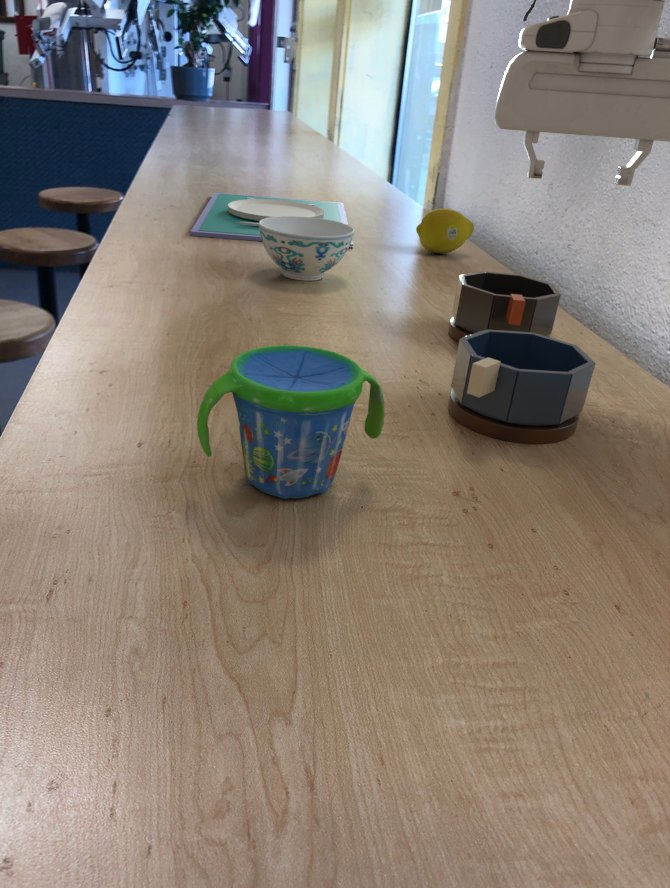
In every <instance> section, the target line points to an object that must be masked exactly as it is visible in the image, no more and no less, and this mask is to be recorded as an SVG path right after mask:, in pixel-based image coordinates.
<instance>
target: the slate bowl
mask: <svg viewBox="0 0 670 888" xmlns="http://www.w3.org/2000/svg"><path fill="white" fill-rule="evenodd" d="M595 366H596V362H595V361H594V360H593V359H592V358H591V357H590V356H589V355H588V354H587V353H586V352H585V351H584V350H583V349H582V348H581V347H580V346H579V345H577V344H573V343H570V342H567V341H563V340H560V339H557V338H552V337H551V336H550V337H547V336H543V335H540V334H537V333H532V332H519V331H503V330H483V331H480V332H477V333H474V334H471V335H468V336H465V337H462V338H460V340H459V342H458V347H457V352H456V356H455V363H454V368H453V374H452V377H451V378H452V379H451V384H450V386H451V389H453V390H454V392H455V394H456V396H457V398H458V399H459V401H460V403H461V404H462V405H463V406H466V407H468V408H469V409H471V410H473V411H475V412H477V413H479V414H481V415H483V416H486V417H489V418H492V419H495V420H499V421H503V422H507V423H513V424H519V425H529V426H547V425H558V424H561V423H563V422H565V421H567V420H568V419H570V418H572V417H574V416H575V415H577V414H579V415H580V414H581V413H582V412H583V409H584V407H585V403H586V399H587V395H588V391H589V388H590V385H591V381H592V377H593V374H594V370H595Z"/></svg>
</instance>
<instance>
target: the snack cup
mask: <svg viewBox="0 0 670 888" xmlns="http://www.w3.org/2000/svg"><path fill="white" fill-rule="evenodd" d="M365 382H367V383H368V384H369V396H368V405H367V414H366V417H365V420H364V432H365V434H366V435H367V436H368V437H369V438H371V439H372V440H373V439H374V440H375V439H378V438H379V437H380V435H381V433H382V431H383V428H384V422H385V421H384V420H385V399H384V393H383V388H382V387H381V385H380V383H379V382H378V380H377V379H375V377H373V375H372V374H370V373H369V372H368V371H366V370H365V369H364V368H362V367H361V366H360V364H358V363H357V362H356V361H354V360H353V359H352V358H349V357H348V356H346V355H343V354H340V353H338V352H335V351H332V350H328V349H324V348H319V347H314V346H306V345H292V344H291V345H289V344H282V345H280V344H279V345H267V346H262V347H261V346H260V347H256V348H253V349H249V350H246V351H244V352H241V353H240V354H238V355H237V356H235V358H233V359H232V360H231V363H230V366H229V369H228V371H227V372H225V373H224V374H222V375H221V376H219V377H218V378H217V379H216V380H214V381H213V382H212V384H211V385H210V386H209V388H208V389H207V391H206V392H205V394H204V396H203V398H202V400H201V403H200V406H199V410H198V413H197V421H196V431H197V437H198V440H199V444H200V447H201V449H202V451H203V452H204V454H205V455H206V457H208V458H209V457H212V448H211V445H210V430H209V425H208V421H209V416H210V413H211V411H212V409H213V408H214V406H216V404H217V403H218V402H219V401H220V400H221V399H222V398H223V396H225V395H226V394H229V393H231V394H232V398H233V401H234V404H235V407H236V412H237V413H236V414H237V419H238V424H239V427H238V428H239V429H238V430H239V436H240V437H239V438H240V446H241V454H242V461H243V469H244V473H245V477H246V480H247V483H248V484H249V485H251V486H254V487H255V488H256V489H257V490H259V491H260V492H262V493H265V494H267V495H270V496H273V497H277V498H279V499H283V500H288V499H302V498H308V497H311V496H314V495H317V494H324V493H326V492H327V491H328V489H329V488H330V487H331V485H332V483H333V481H334V480H335V478H336V474H337V471H338V467H339V465H340V460H341V456H342V453H343V448H344V444H345V440H346V438H347V433H348V429H349V428H350V427H349V426H350V424H351V418H352V413H353V410H354V407H355V404H356V401H357V400H358V398H359V397H360V396H361V394H362V390H363V387H364V383H365Z"/></svg>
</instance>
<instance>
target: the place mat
mask: <svg viewBox="0 0 670 888" xmlns="http://www.w3.org/2000/svg"><path fill="white" fill-rule="evenodd" d="M279 216H299V217H312V218H320V219H327V220H332V221H337V222H340V223H344V224H347V225H349V222H348V217H347V213H346V209H345V205H344V202H337V201H336V202H335V201H324V200H323V201H322V200H311V199H298V198H297V199H296V198H285V197H275V196H261V195H248V194H236V193H235V194H234V193H226V192H225V193H222V192H214V193H213V194H212V196H211V197H210V199H209V200H208V203H206V206H205V207H204V209H203V210H202V211H201V213H200V215H199V217H198V218H197V220H196V221H195V223H194V225H193V227H192V228H191V229H190V231H189V232H190V235H189V236H190V237H191V236H192V237H201V238H213V239H215V238H216V239H228V240H240V241H253V242H254V241H255V242H262V239H261V235H260V230H259V221H260V220H262V219H265V218H270V217H279ZM350 246H353V247H354V242H353V240H352V241H351V244H350Z"/></svg>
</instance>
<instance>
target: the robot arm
mask: <svg viewBox="0 0 670 888" xmlns="http://www.w3.org/2000/svg"><path fill="white" fill-rule="evenodd" d="M665 2H666V0H570V3H569V7H568V8H569V9H568V11H567V14H565V15H555V16H554V15H552V16H551V17H549V18H547V19H546V20H543V21H539V22H535V23H532V24H528V25H526V26H525V27H524V28H522V29H521V31H520V33H519V38H518V47H519V49H520V50H522V52H519V53H517V55H515V56H514V57H513V58H512V59H511V60H510V61H509V63H508V65H507V67H506V70H505V71H504V75H503V78H502V80H501V84H500V87H499V92H498V95H497V99H496V103H495V108H494V112H493V113H494V114H493V122H494V123H495V125H496V126H497V128H498V129H500V130H510V131H522V132H523V137H522V143H523V146H524V149H525V151H526V155H527V158H528V160H529V162H528V167H527V172H526V178H529V179H540V180H541V179H542V178H543V174H544V172H543V170H544V168H545V163H546V161H544V160H543V159H538V158H537V155H536V152H535V149H534V145H533V144H538V143H539V138H540V133H549V134H552V133H553V134H561V135H563V134H564V135H577V136H588V137H589V136H590V137H591V136H592V137H603V138H605V137H606V138H617V139H619V138H620V139H631V140H634V145H633V150H635V151H636V153H635V154H634V155H633V156H632V158H631V159H630V160H629V162H627V164H626V165H625V166H623V165H618V166H617V169H616V174H617V175H616V176H615V177H614V184H615V185H617V186H626V187H627V186H628V187H630V186H632V183H633V180H634V176H635V171H636V170H637V169H638V168H639V166H641V164H642V163H643V162H644V161H645V160H646V158H647V157H648V156H649V155H650V154H651V152H652V148H653V145H654V141H659V142H670V38H668V37H667V38H665V37H658V36H657V35H658V31H659V27H660V23H661V18H662V14H663V11H664V6H665Z"/></svg>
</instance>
